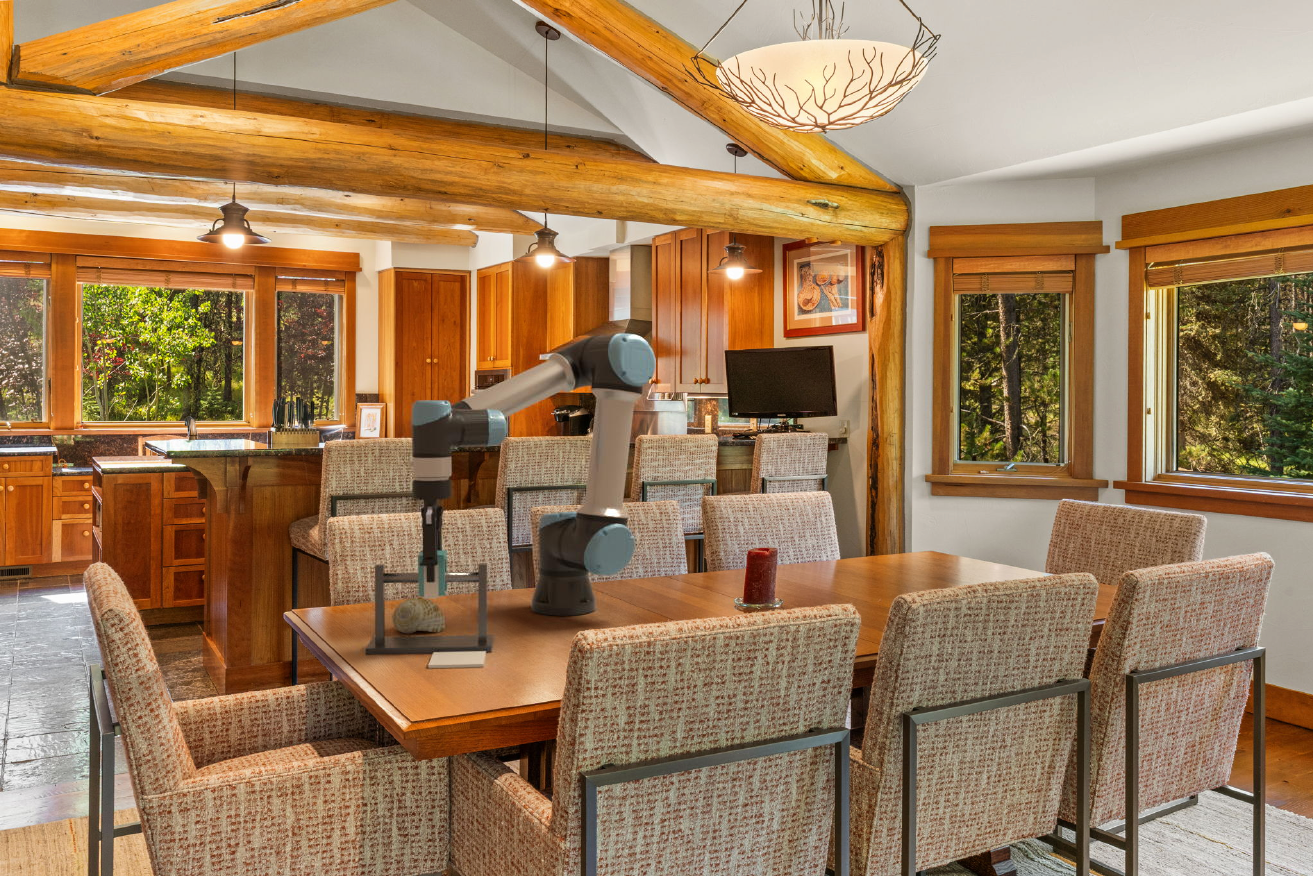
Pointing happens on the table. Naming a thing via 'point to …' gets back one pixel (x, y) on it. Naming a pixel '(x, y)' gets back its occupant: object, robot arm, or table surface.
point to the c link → (441, 572)
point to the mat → (457, 659)
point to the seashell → (418, 616)
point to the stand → (429, 643)
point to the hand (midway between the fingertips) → (433, 594)
